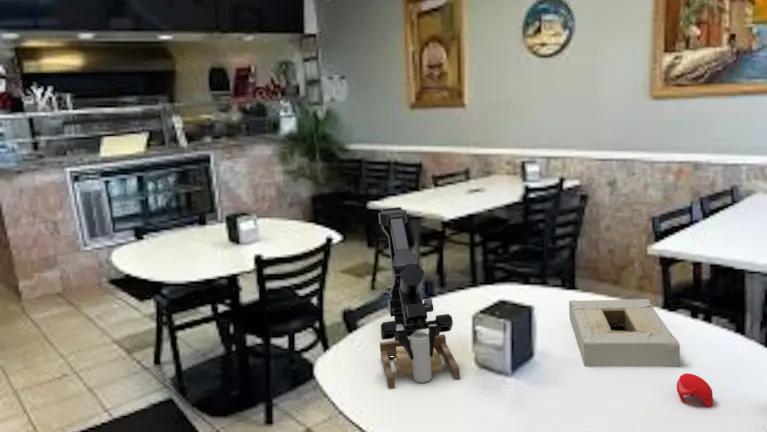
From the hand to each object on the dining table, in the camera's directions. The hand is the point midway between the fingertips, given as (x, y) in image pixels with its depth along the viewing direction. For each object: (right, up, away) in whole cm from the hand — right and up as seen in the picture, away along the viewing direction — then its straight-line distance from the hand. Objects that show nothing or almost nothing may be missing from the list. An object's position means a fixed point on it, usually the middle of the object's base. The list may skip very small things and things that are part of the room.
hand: (422, 357), depth 151 cm
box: (+56, +1, +15) cm, 58 cm away
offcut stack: (0, -5, +10) cm, 11 cm away
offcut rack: (0, -5, +9) cm, 10 cm away
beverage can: (0, -6, +3) cm, 7 cm away
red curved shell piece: (+60, -5, -18) cm, 63 cm away
